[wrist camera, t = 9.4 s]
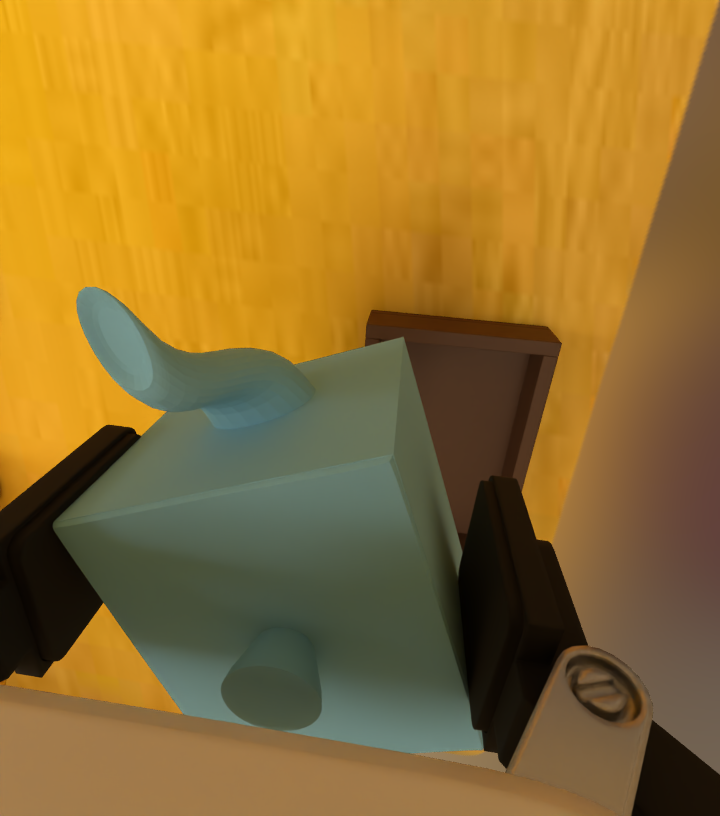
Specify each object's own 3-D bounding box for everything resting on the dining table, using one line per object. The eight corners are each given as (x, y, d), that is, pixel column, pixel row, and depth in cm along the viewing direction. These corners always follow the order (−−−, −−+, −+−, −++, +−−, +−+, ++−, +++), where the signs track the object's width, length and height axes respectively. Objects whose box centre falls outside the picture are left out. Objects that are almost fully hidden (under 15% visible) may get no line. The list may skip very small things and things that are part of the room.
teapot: (146, 263, 12) (-168, 371, 6) (368, 189, 11) (292, 220, 4) (301, 591, 17) (228, 858, 11) (470, 568, 16) (507, 857, 9)
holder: (371, 309, 29) (366, 324, 26) (548, 326, 28) (562, 343, 26) (354, 522, 37) (349, 551, 34) (493, 539, 36) (500, 570, 33)
